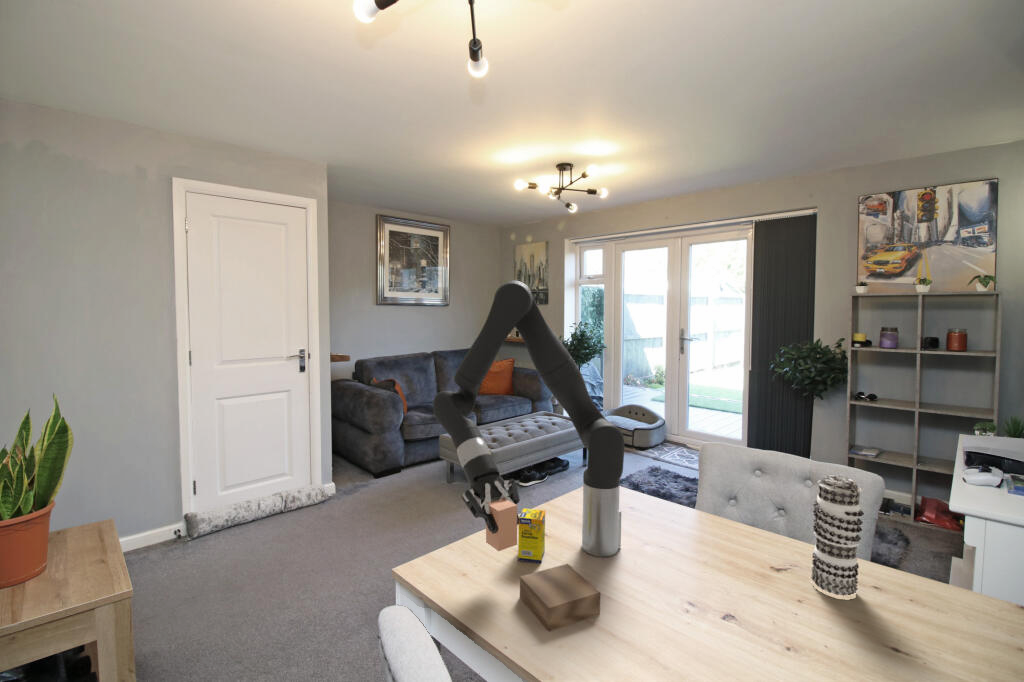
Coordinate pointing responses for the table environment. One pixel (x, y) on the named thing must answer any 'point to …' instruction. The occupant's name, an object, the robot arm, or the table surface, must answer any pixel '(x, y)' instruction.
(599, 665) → the table surface
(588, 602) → the walnut block
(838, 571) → the decorative candle
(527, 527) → the supplement box
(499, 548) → the terracotta block
